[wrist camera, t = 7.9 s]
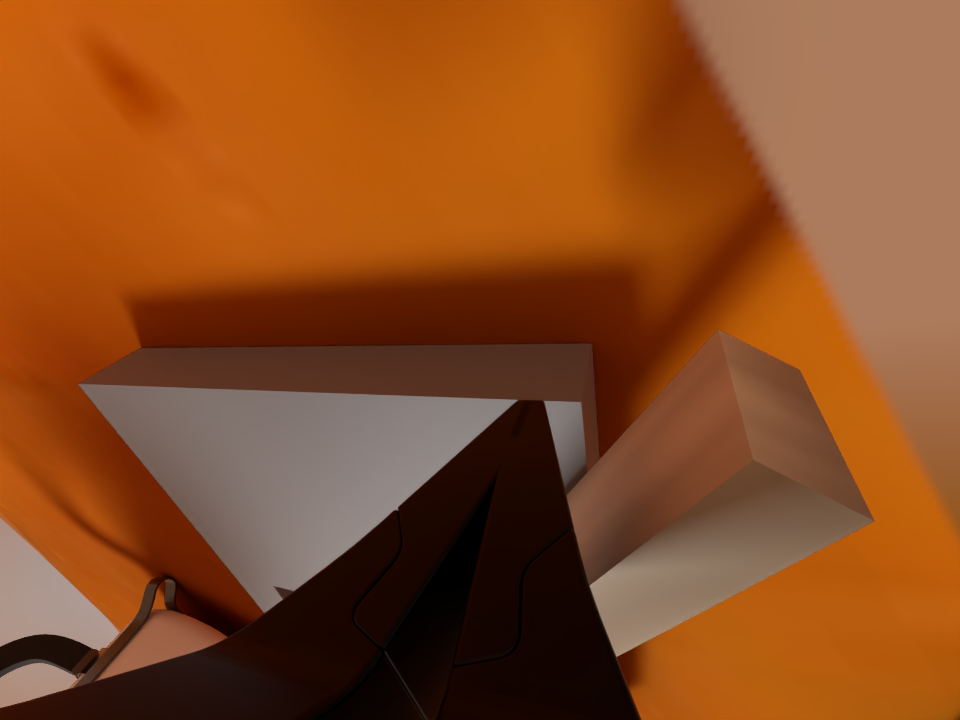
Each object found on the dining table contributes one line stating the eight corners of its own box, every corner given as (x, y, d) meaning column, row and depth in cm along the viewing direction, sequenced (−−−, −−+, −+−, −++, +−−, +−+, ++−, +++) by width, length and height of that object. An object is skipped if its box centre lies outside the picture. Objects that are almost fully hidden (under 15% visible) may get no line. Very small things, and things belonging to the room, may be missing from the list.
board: (592, 343, 12) (581, 402, 10) (615, 696, 22) (612, 758, 20) (139, 348, 18) (77, 383, 16) (328, 621, 29) (304, 663, 27)
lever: (813, 376, 7) (921, 581, 4) (425, 699, 22) (394, 793, 19) (704, 322, 7) (741, 491, 4) (390, 681, 22) (353, 772, 19)
